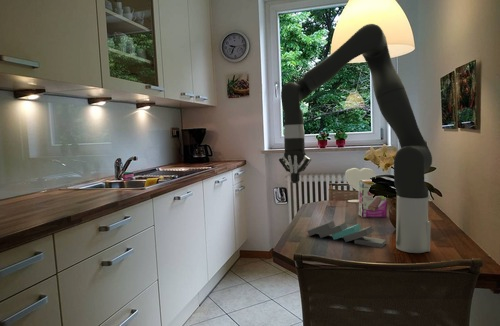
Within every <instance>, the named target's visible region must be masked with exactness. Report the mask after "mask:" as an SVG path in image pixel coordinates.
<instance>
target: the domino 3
mask: <svg viewBox="0 0 500 326" xmlns="http://www.w3.org/2000/svg"><path fill="white" fill-rule="evenodd" d="M361 229H362V227H361V225H360V223H357V224H354V225H352V226H347V228H346V229H344V230H343V231H340V232H337V233H334V234H331V236H332V239H333V240H339V239H341V238H343V237H344V236H347V235H350V234H353V233H356V232H357V231H359V230H361Z"/></svg>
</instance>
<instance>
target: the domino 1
mask: <svg viewBox="0 0 500 326" xmlns="http://www.w3.org/2000/svg"><path fill="white" fill-rule="evenodd" d="M334 226H336V223H335V221H334V220H331V221H327V222H325V223H322V224H319V225H317V226H314V227H312V228H310V229H308V230H307V231H306V232H307V234H308V236H309V237H310V236H313V235H317V234H318V233H319V232H322V231H325V230H328V229H330V228H332V227H334Z"/></svg>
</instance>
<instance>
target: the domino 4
mask: <svg viewBox="0 0 500 326" xmlns="http://www.w3.org/2000/svg"><path fill="white" fill-rule="evenodd" d="M374 231H375V230H374V228H373V226H372V225H370V226H367V227H364V228H361V230H359V231H357V232H356V233H353V234H350V235H347V236H344V237H342V238H343V240H344V242H345V243H348V242H351V241H354V239H358V238H361V237H368V236H369V235H371V234H372V233H374Z"/></svg>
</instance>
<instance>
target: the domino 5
mask: <svg viewBox="0 0 500 326" xmlns="http://www.w3.org/2000/svg"><path fill="white" fill-rule="evenodd" d="M353 241H354V244H356V245H361V246H368V247H374V248H380V249H382V248H383V247H384V246H385V245H386V243H387V239H382V238H378V237H377V238H376V237H371V236H370V237H369V236H364V237H361V238H358V239H354V240H353Z"/></svg>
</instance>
